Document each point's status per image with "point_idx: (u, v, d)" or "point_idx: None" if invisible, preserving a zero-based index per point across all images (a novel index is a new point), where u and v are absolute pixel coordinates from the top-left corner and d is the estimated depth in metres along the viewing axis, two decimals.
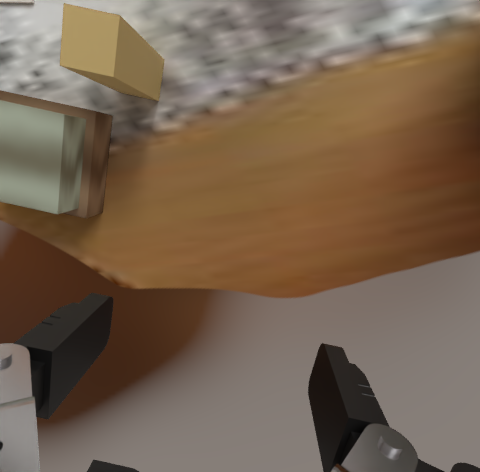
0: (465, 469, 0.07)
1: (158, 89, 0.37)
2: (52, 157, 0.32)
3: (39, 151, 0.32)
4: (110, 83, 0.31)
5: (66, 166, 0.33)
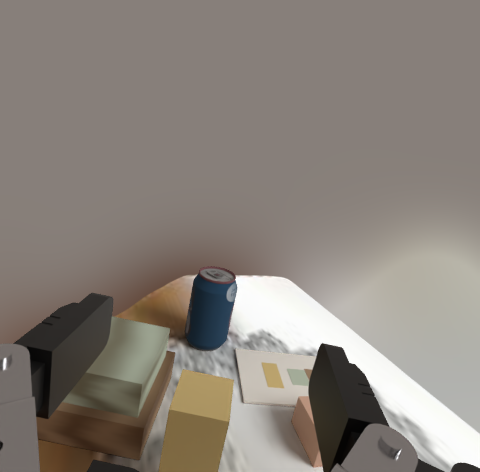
0: (465, 469, 0.07)
1: None
2: (102, 368, 0.32)
3: (111, 360, 0.33)
4: None
5: (89, 381, 0.31)
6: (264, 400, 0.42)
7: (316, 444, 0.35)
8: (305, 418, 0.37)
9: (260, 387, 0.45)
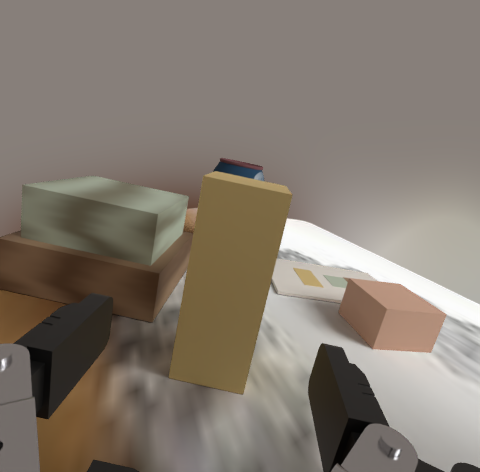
0: (465, 469, 0.07)
1: (189, 373, 0.19)
2: (104, 199, 0.24)
3: (117, 198, 0.25)
4: None
5: (87, 212, 0.23)
6: (302, 293, 0.35)
7: (377, 319, 0.27)
8: (360, 297, 0.30)
9: (295, 284, 0.37)
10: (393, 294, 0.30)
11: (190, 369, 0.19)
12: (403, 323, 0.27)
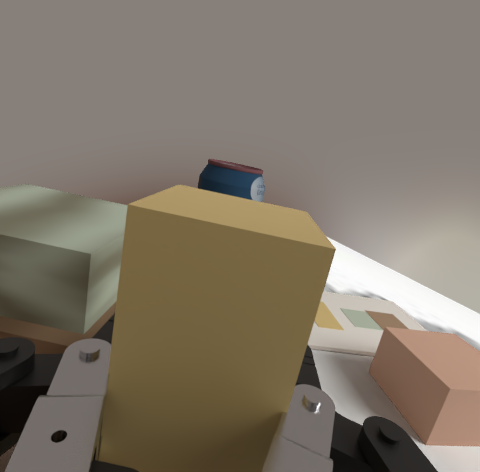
0: (372, 422, 0.08)
1: None
2: (8, 228, 0.15)
3: (36, 223, 0.16)
4: None
5: None
6: (317, 343, 0.26)
7: (433, 400, 0.18)
8: (403, 358, 0.21)
9: None
10: (452, 356, 0.21)
11: None
12: (473, 408, 0.18)
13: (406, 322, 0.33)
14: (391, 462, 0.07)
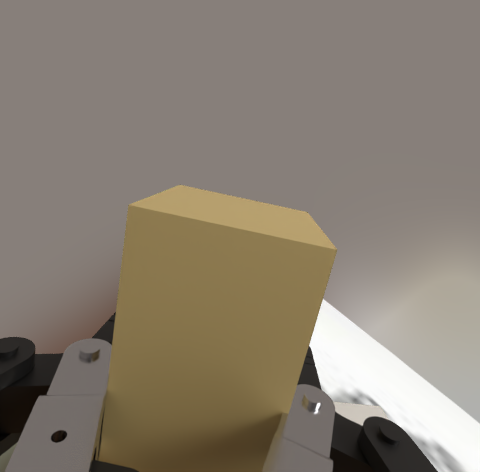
0: (372, 422, 0.08)
1: None
2: None
3: None
4: None
5: None
6: None
7: None
8: None
9: None
10: None
11: None
12: None
13: None
14: (391, 462, 0.07)
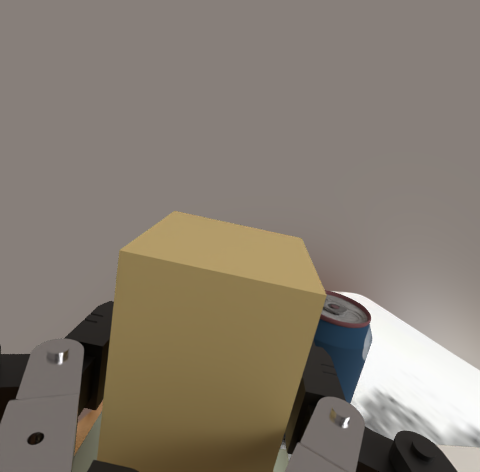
0: (405, 436, 0.08)
1: None
2: None
3: None
4: None
5: None
6: None
7: None
8: None
9: None
10: None
11: None
12: None
13: None
14: None
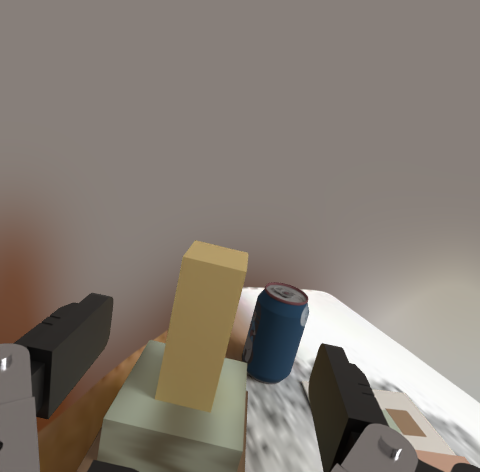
0: (465, 469, 0.07)
1: (170, 396, 0.25)
2: (185, 427, 0.23)
3: (193, 413, 0.25)
4: None
5: (169, 445, 0.23)
6: None
7: None
8: None
9: None
10: None
11: (171, 393, 0.25)
12: None
13: (418, 420, 0.42)
14: None
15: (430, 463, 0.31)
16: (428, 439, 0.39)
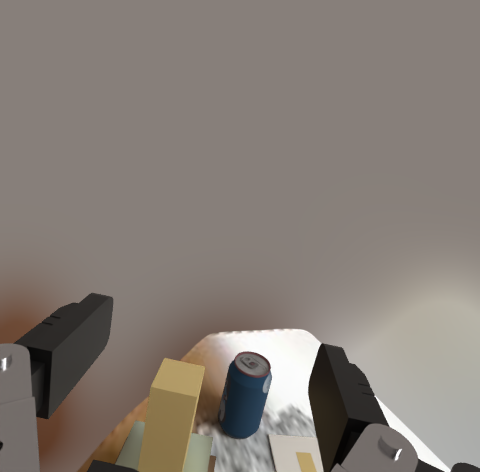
0: (465, 469, 0.07)
1: None
2: None
3: None
4: None
5: None
6: None
7: None
8: None
9: None
10: None
11: None
12: None
13: None
14: None
15: None
16: None
